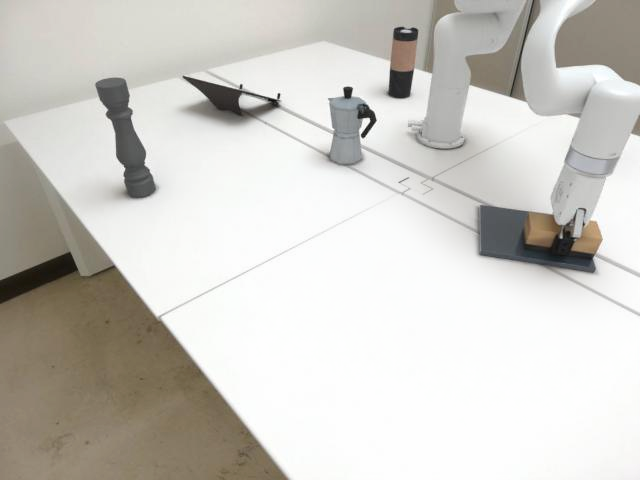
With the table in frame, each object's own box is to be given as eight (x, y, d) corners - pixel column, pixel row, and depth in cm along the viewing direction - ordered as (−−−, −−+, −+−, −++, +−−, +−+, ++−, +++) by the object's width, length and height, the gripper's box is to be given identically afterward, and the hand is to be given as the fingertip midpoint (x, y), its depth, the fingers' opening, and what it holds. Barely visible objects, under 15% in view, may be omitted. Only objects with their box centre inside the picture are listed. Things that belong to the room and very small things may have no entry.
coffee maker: (316, 154, 118) (315, 86, 107) (338, 143, 123) (339, 76, 112) (361, 174, 110) (365, 102, 99) (382, 161, 115) (389, 91, 104)
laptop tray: (283, 124, 146) (289, 95, 144) (237, 117, 126) (244, 82, 124) (228, 109, 156) (233, 82, 153) (178, 100, 136) (183, 68, 133)
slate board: (479, 254, 87) (480, 250, 86) (479, 208, 99) (480, 204, 98) (594, 272, 83) (596, 268, 82) (578, 222, 95) (580, 218, 94)
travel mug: (396, 100, 147) (403, 34, 134) (383, 92, 152) (388, 28, 140) (415, 96, 149) (424, 30, 137) (401, 88, 155) (408, 25, 142)
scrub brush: (523, 249, 86) (531, 228, 83) (521, 232, 90) (528, 211, 87) (592, 260, 84) (603, 239, 81) (587, 242, 88) (596, 221, 85)
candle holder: (161, 186, 106) (133, 79, 91) (145, 200, 102) (113, 89, 86) (138, 181, 108) (108, 75, 92) (122, 195, 103) (86, 86, 88)
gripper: (559, 133, 83) (531, 215, 94) (575, 181, 70) (540, 269, 81) (604, 138, 81) (570, 220, 92) (629, 188, 68) (586, 276, 80)
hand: (556, 242), depth 87 cm, fingers closed on scrub brush, 5 cm apart
